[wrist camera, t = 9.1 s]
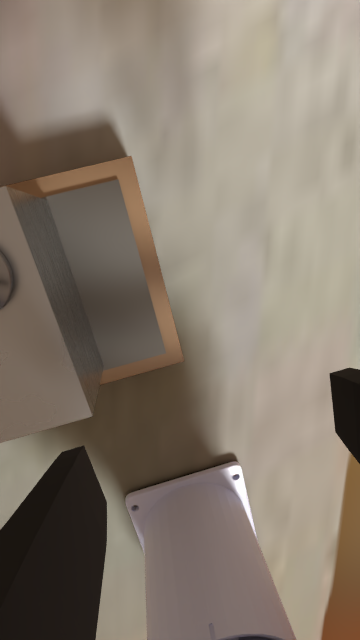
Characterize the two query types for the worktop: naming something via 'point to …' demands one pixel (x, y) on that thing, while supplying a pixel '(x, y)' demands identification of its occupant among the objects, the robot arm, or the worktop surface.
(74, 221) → the stand
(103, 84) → the worktop surface
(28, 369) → the housing
